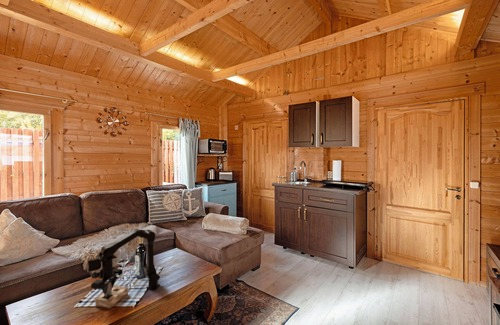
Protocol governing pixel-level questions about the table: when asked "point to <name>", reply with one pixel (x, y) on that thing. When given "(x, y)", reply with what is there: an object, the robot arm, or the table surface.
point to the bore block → (117, 295)
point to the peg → (108, 290)
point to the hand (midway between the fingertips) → (107, 291)
